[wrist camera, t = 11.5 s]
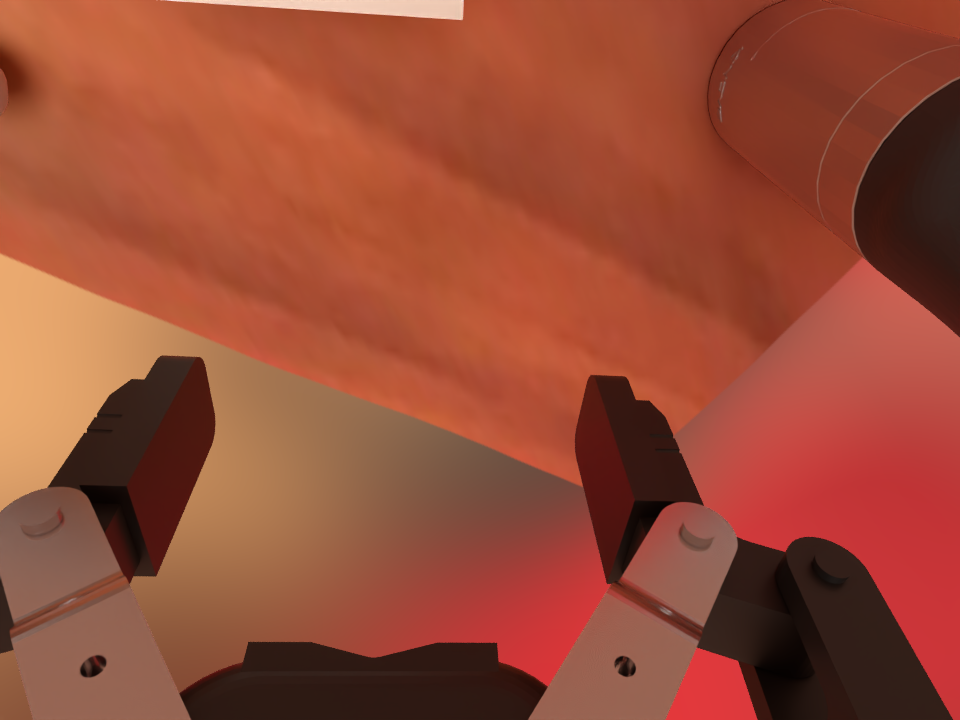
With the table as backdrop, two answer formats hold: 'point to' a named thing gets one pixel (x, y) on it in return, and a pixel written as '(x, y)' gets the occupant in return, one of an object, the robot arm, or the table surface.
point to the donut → (3, 92)
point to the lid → (361, 6)
